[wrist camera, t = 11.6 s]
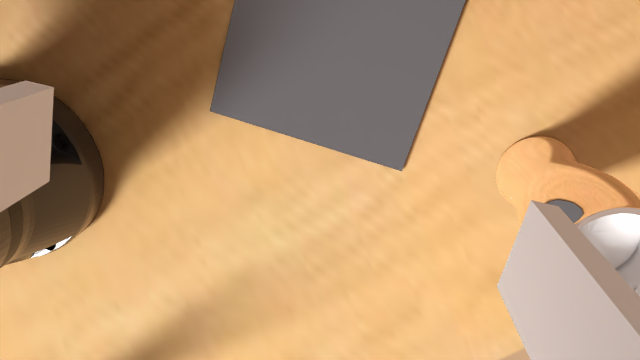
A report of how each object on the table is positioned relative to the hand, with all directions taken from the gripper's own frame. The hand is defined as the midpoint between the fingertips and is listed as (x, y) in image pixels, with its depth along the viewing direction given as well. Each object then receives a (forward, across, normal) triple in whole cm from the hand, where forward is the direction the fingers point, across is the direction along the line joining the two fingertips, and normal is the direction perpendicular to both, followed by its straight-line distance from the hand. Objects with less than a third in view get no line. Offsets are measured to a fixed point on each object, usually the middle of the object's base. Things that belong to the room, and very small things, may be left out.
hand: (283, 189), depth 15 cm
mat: (+28, 0, +1) cm, 28 cm away
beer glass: (+28, +18, -5) cm, 33 cm away
